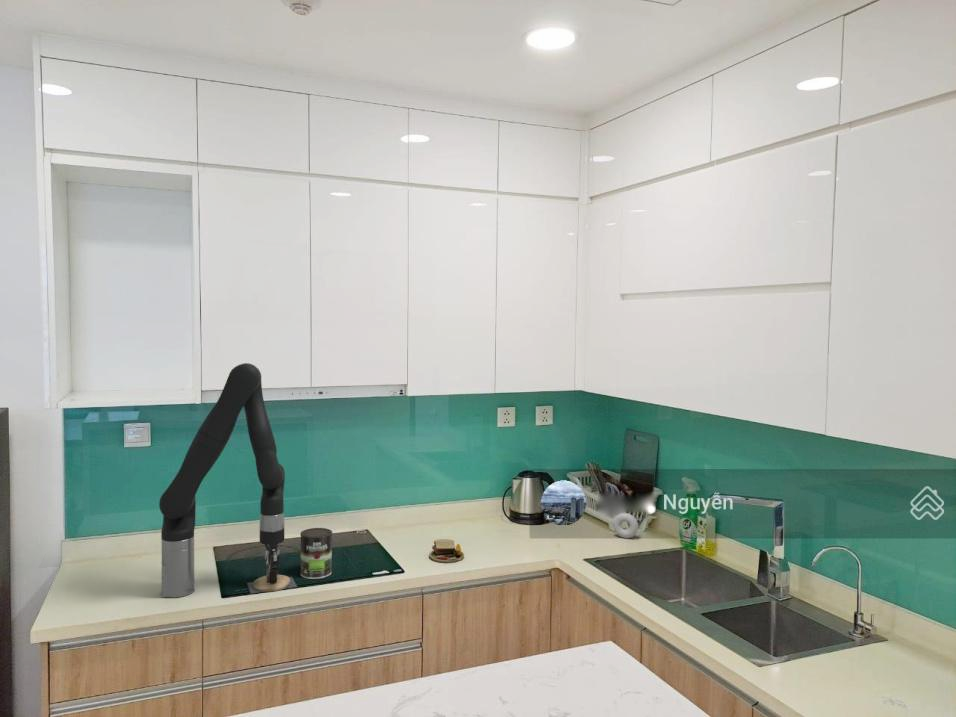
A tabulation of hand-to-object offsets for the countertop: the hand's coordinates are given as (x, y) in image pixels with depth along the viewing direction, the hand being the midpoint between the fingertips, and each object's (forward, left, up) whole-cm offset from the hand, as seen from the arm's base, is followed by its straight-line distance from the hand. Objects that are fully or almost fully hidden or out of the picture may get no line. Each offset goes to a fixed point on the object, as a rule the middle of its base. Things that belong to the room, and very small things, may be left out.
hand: (272, 579), depth 218 cm
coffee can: (+15, +5, -2) cm, 16 cm away
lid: (0, 0, -2) cm, 2 cm away
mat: (0, 0, -2) cm, 2 cm away
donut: (+135, -3, -2) cm, 135 cm away
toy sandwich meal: (+61, +4, -2) cm, 61 cm away
